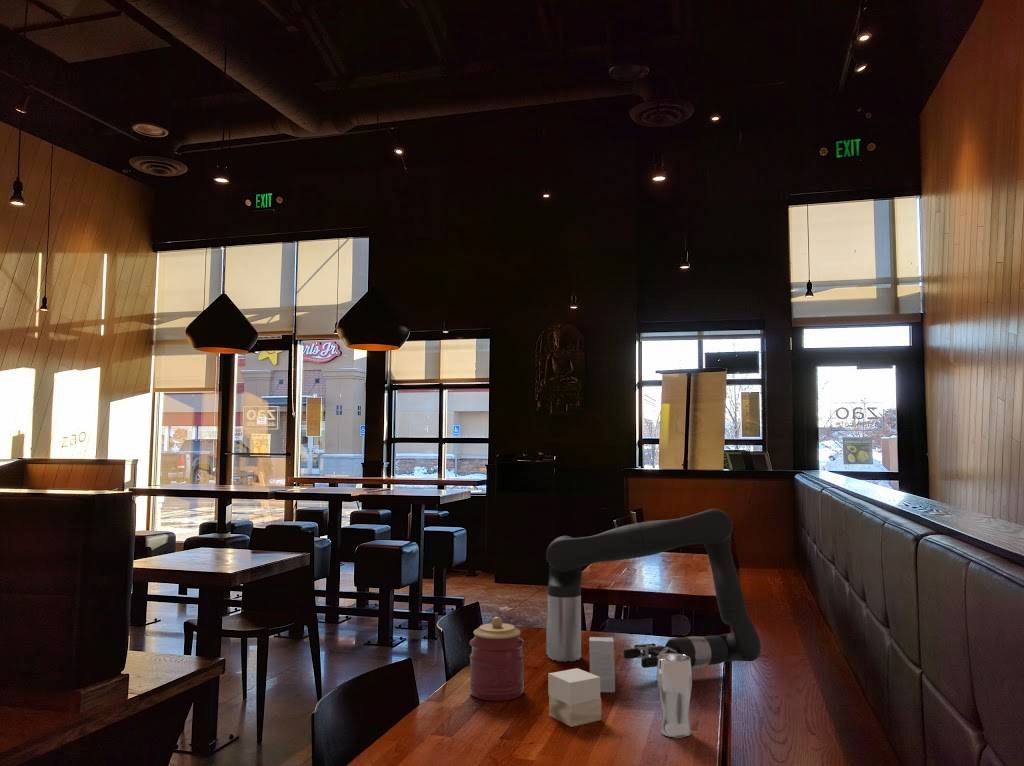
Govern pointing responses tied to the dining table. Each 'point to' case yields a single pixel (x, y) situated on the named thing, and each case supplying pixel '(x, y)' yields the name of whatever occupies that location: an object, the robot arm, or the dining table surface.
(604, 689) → the skincare box
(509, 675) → the canister
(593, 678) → the tower top block
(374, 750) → the dining table surface
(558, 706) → the tower bottom block
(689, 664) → the beer glass
